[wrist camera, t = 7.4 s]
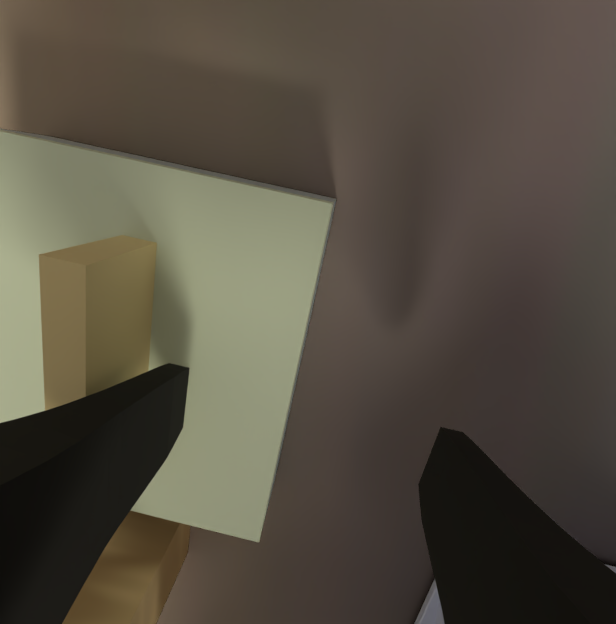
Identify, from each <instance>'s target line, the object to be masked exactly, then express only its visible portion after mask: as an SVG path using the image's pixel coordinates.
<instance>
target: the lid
mask: <svg viewBox="0 0 616 624" xmlns="http://www.w3.org/2000/svg"><path fill="white" fill-rule="evenodd" d="M333 204H334V202H331V201H326V200H321V199H317V198H312V197H308V196H303V195H298V194H294V193H289V192H285V191H280V190H276V189H271V188H266V187H262V186H257V185H253V184H248V183H244V182H239V181H234V180H230V179H225V178H221V177H216V176H211V175H207V174H202V173H198V172H193V171H189V170H184V169H179V168H175V167H170V166H166V165H161V164H156V163H152V162H147V161H143V160H138V159H134V158H129V157H124V156H120V155H115V154H111V153H106V152H101V151H97V150H92V149H88V148H83V147H79V146H74V145H69V144H65V143H60V142H56V141H51V140H47V139H42V138H37V137H33V136H28V135H24V134H19V133H14V132H10V131H5V130H1V129H0V423H2V422H6V421H10V420H14V419H18V418H21V417H25V416H28V415H32V414H35V413H39V412H42V411H46V410H49V409H52V408H55V407H58V406H61V405H64V404H67V403H70V402H72V401H75V400H78V399H80V398H83V397H86V396H88V395H91V394H94V393H97V392H99V391H102V390H105V389H107V388H109V387H112V386H114V385H117V384H119V383H121V382H124V381H126V380H129V379H131V378H133V377H136V376H138V375H140V374H143V373H145V372H147V371H150V370H152V369H154V368H157V367H159V366H162V365H164V364H167V363H171V364H176V365H180V366H184V367H188V368H190V370H189V379H188V388H187V397H186V406H185V415H184V424H183V429H182V431H181V433H180V434H179V436H178V438H177V440H176V442H175V444H174V446H173V448H172V450H171V452H170V453H169V455H168V457H167V459H166V460H165V462H164V463H163V465H162V466H161V468H160V469H159V470H158V472H157V473H156V475H155V476H154V478H153V479H152V481H151V482H150V483H149V485H148V486H147V488H146V489H145V490H144V492H143V493H142V495H141V496H140V498H139V499H138V500H137V502H136V503H135V505H134V506H133V507H132V509H131V510H130V511H134V512H138V513H142V514H146V515H150V516H154V517H158V518H162V519H166V520H170V521H174V522H178V523H182V524H186V525H190V526H194V527H198V528H202V529H206V530H210V531H214V532H218V533H222V534H227V535H231V536H235V537H239V538H243V539H247V540H251V541H255V542H259V541H260V537H261V533H262V529H263V525H264V521H265V516H266V511H267V507H268V502H269V498H270V493H271V489H272V484H273V479H274V475H275V470H276V466H277V461H278V456H279V452H280V447H281V443H282V438H283V434H284V429H285V424H286V420H287V415H288V411H289V406H290V401H291V397H292V392H293V388H294V383H295V378H296V374H297V369H298V365H299V360H300V356H301V351H302V346H303V342H304V337H305V333H306V328H307V323H308V319H309V314H310V310H311V305H312V301H313V296H314V291H315V287H316V282H317V278H318V273H319V268H320V264H321V259H322V255H323V250H324V246H325V241H326V236H327V232H328V227H329V223H330V218H331V213H332V209H333Z"/></svg>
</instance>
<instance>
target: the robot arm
mask: <svg viewBox="0 0 616 624" xmlns="http://www.w3.org/2000/svg"><path fill="white" fill-rule="evenodd" d="M189 370H190V368H188V367H184V366H180V365H176V364H171V363H167V364H164V365H162V366H159V367H157V368H154V369H152V370H150V371H147V372H145V373H143V374H140V375H138V376H136V377H133V378H131V379H129V380H126V381H124V382H121V383H119V384H117V385H114V386H112V387H109V388H107V389H105V390H102V391H99V392H97V393H94V394H91V395H88V396H86V397H83V398H80V399H78V400H75V401H72V402H70V403H67V404H64V405H61V406H58V407H55V408H52V409H49V410H46V411H42V412H39V413H35V414H32V415H28V416H25V417H21V418H18V419H14V420H10V421H6V422H2V423H0V624H62V623H63V621H64V619H65V617H66V616H67V614H68V612H69V610H70V608H71V607H72V605H73V603H74V601H75V599H76V598H77V596H78V594H79V592H80V590H81V589H82V587H83V585H84V583H85V582H86V580H87V578H88V576H89V575H90V573H91V571H92V570H93V568H94V566H95V564H96V563H97V561H98V559H99V557H100V556H101V554H102V552H103V550H104V549H105V547H106V546H107V544H108V542H109V541H110V539H111V538H112V536H113V535H114V533H115V532H116V530H117V529H118V527H119V526H120V524H121V523H122V522H123V520H124V519H125V517H126V516H127V515H128V513H129V512H130V510H131V509H132V507H133V506H134V505H135V503H136V502H137V500H138V499H139V498H140V496H141V495H142V493H143V492H144V490H145V489H146V488H147V486H148V485H149V483H150V482H151V481H152V479H153V478H154V476H155V475H156V473H157V472H158V470H159V469H160V468H161V466H162V465H163V463H164V462H165V460H166V459H167V457H168V455H169V453H170V452H171V450H172V448H173V446H174V444H175V442H176V440H177V438H178V436H179V434H180V433H181V431H182V429H183V424H184V415H185V406H186V397H187V388H188V379H189ZM419 496H420V507H421V517H422V523H423V528H424V533H425V537H426V542H427V546H428V551H429V555H430V560H431V564H432V568H433V573H434V577H435V579H434V581H433V584H432V586H431V588H430V590H429V592H428V595H427V597H426V599H425V601H424V603H423V606H422V608H421V610H420V612H419V614H418V617H417V619H416V621H415V623H414V624H616V567H614V566H610V565H606V564H603V563H602V562H601V561H600V560H599V559H597V558H596V557H595V556H594V555H593V554H591V553H590V552H589V551H588V550H586V549H585V548H584V547H583V546H582V545H580V544H579V543H578V542H577V541H576V540H574V539H573V538H572V537H571V536H570V535H569V534H567V533H566V532H565V531H564V530H563V529H562V528H561V527H559V526H558V525H557V524H556V523H555V522H554V521H553V520H552V519H551V518H550V517H549V516H548V515H546V514H545V513H544V512H543V511H542V510H541V509H540V508H539V507H538V506H537V505H536V504H535V503H534V502H533V501H531V500H530V499H529V498H528V497H527V496H526V495H525V494H524V493H523V492H522V491H521V490H520V489H519V488H518V487H517V486H516V485H515V484H514V483H513V482H512V481H511V480H510V479H509V478H508V477H507V476H506V475H505V474H504V473H503V472H502V471H501V470H500V469H499V468H498V467H497V466H496V465H495V464H494V462H493V461H492V460H491V459H490V458H489V457H488V456H487V455H486V454H485V453H484V452H483V451H482V450H481V449H480V448H479V447H478V446H477V445H476V444H475V443H474V442H473V441H472V440H471V439H470V438H469V437H467V436H466V435H465V434H464V433H463V432H459V431H455V430H451V429H446V428H442V427H441V428H440V430H439V433H438V436H437V438H436V441H435V443H434V446H433V448H432V451H431V454H430V456H429V459H428V461H427V464H426V466H425V469H424V472H423V474H422V477H421V479H420V482H419Z"/></svg>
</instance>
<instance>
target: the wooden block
mask: <svg viewBox="0 0 616 624" xmlns="http://www.w3.org/2000/svg"><path fill="white" fill-rule="evenodd" d="M189 536H190V525H186V524H182V523H178V522H174V521H170V520H166V519H162V518H158V517H154V516H150V515H146V514H142V513H138V512H134V511H130V512H129V513H128V515H127V516H126V517H125V519H124V520H123V522H122V523H121V524H120V526H119V527H118V529H117V530H116V532H115V533H114V535H113V536H112V538H111V539H110V541H109V542H108V544H107V546H106V547H105V549H104V550H103V552H102V554H101V556H100V557H99V559H98V561H97V563H96V564H95V566H94V568H93V570H92V571H91V573H90V575H89V576H88V578H87V580H86V582H85V583H84V585H83V587H82V589H81V590H80V592H79V594H78V596H77V598H76V599H75V601H74V603H73V605H72V607H71V608H70V610H69V612H68V614H67V616H66V617H65V619H64V621H63V623H62V624H156V623H157V621H158V619H159V616H160V614H161V612H162V610H163V607H164V605H165V603H166V601H167V598H168V596H169V594H170V591H171V589H172V587H173V585H174V582H175V580H176V578H177V576H178V573H179V571H180V569H181V567H182V564H183V562H184V560H185V557H186V555H187V553H188V547H189Z"/></svg>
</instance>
